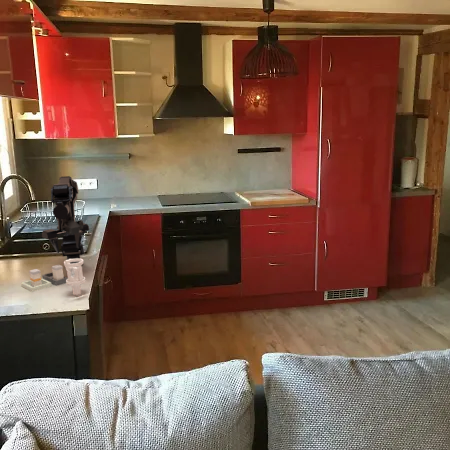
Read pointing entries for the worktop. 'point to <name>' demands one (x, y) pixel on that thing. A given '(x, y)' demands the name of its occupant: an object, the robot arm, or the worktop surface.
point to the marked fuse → (35, 277)
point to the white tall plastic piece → (75, 275)
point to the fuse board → (50, 278)
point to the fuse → (57, 272)
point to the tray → (28, 283)
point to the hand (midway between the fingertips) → (68, 250)
